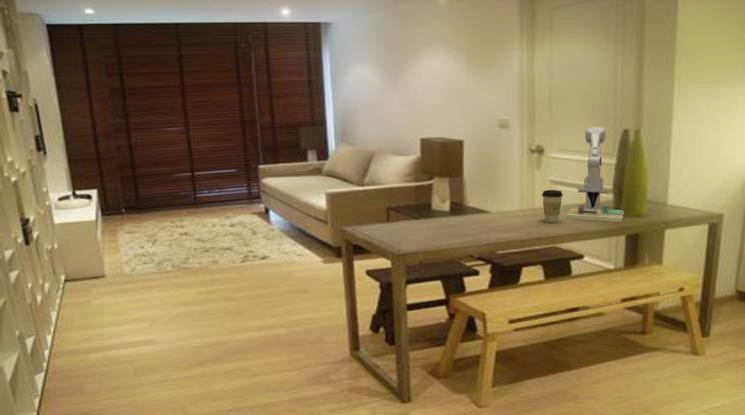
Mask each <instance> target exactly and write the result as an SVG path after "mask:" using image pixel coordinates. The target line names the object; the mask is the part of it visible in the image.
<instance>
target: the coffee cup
mask: <svg viewBox="0 0 745 415" xmlns="http://www.w3.org/2000/svg"><path fill="white" fill-rule="evenodd" d="M541 196H542V205H543V214H544V221H546V222H545V223H549V222H556V223H559V219H560V214H561V207H562V198H563V196H564V194H563V193H562V191H561V190H557V189H551V190H550V189H548V190H543V193H542V194H541Z"/></svg>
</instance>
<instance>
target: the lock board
mask: <svg viewBox="0 0 745 415" xmlns="http://www.w3.org/2000/svg"><path fill="white" fill-rule="evenodd" d="M583 210H585V209H583ZM587 211H597V212H593V213H585V212H582V214H578V208H570V209H569V210H568V211H567V213H566V216H565V217H566V219H567V220H568V219H569V220H583V221H584V220H585V221H601V222H602V221H603V222H617V223H618V222H619V223H620V222H621V223H622V222H623V219H624V216H623V215H624V214H625V211H624V210H622V215H613V214H602V211H603V209H600V210H587Z"/></svg>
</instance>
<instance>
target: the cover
mask: <svg viewBox="0 0 745 415" xmlns="http://www.w3.org/2000/svg"><path fill="white" fill-rule="evenodd" d="M602 210H603V211H602V214H613V215H622V211H623V209H609V204H604V205H603V209H602Z"/></svg>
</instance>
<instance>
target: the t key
mask: <svg viewBox="0 0 745 415" xmlns="http://www.w3.org/2000/svg"><path fill="white" fill-rule="evenodd" d="M584 205H585V204H580V205H579V207H578V208H577V209H578V214H582V212H585V213H593V212H597V211H587V210H583V209H584V208H585V207H584Z"/></svg>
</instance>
